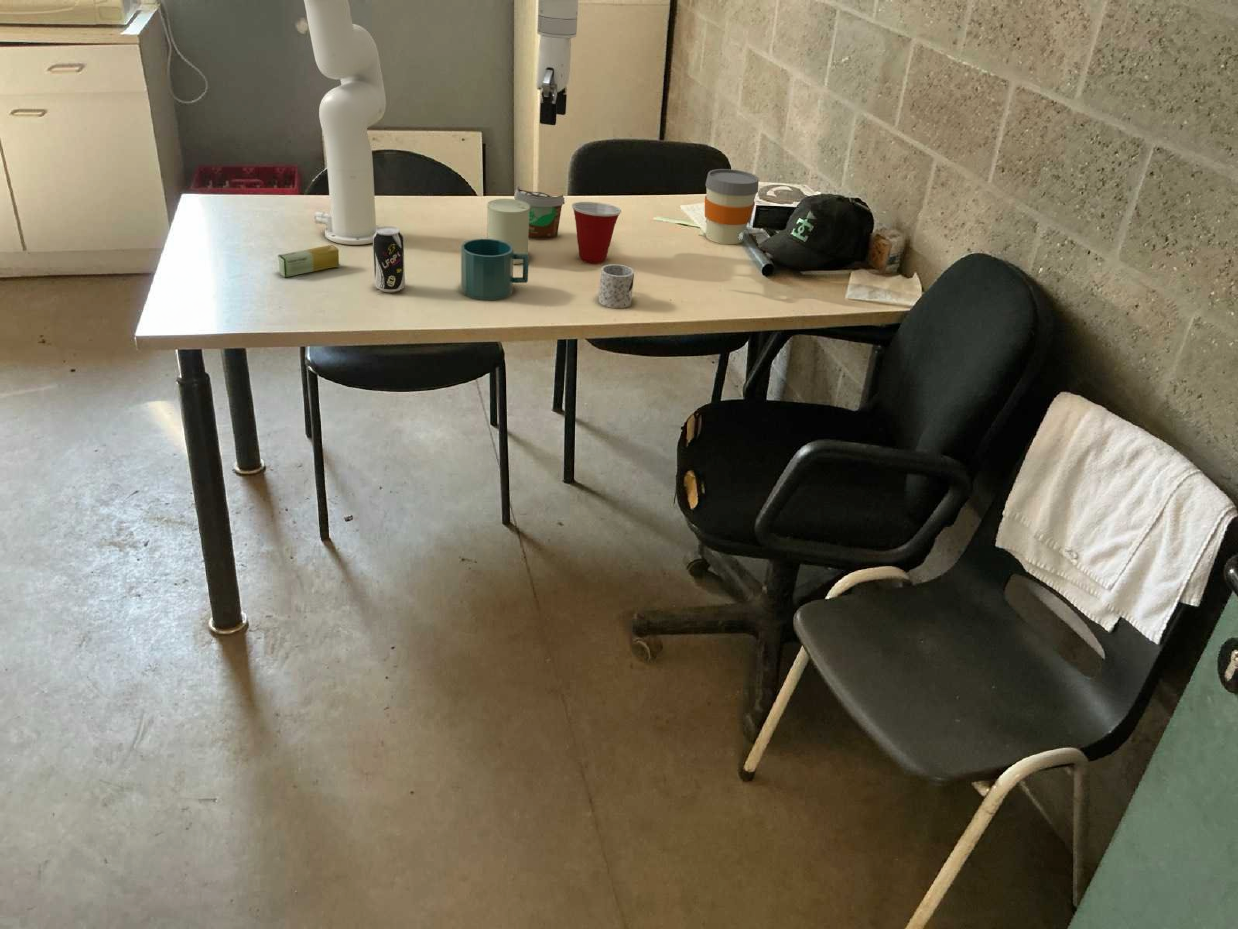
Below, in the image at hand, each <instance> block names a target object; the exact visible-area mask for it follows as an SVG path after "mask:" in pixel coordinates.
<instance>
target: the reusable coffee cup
mask: <svg viewBox="0 0 1238 929" xmlns="http://www.w3.org/2000/svg"><path fill="white" fill-rule="evenodd" d="M759 181H760V178H759V177H758V176H757V175H756V174H753V173H752V172H747V171H743V170H739V169H732V168H731V169H730V168H717V169H711V170H710V171H708V173H707V177H706V181H705V184H704V185H705V187H706V195H705V196H704V217H705V220H706V222H705V223H706V224H705V227H706V228H705V237H706V239H708V240H709V241H711V242H714V243H717V244H720V245H721V244H722V245H737V244H741V243H742V242H743V240H744V239H743V240H741V239H740V240H739V238H738V237H739V234H740V233H741V232H743V231H744V230H745V231H746V230H747V226H748V223H750V222H751V220H752V219H751V218H752V215H753V212H754V208H755V204H756V202H755V198H756V195H757V194H758V193H759Z"/></svg>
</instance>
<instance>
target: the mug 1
mask: <svg viewBox="0 0 1238 929" xmlns="http://www.w3.org/2000/svg"><path fill="white" fill-rule="evenodd" d="M513 259H523V263H522V276H519V277H518V276H517V277H516V276H514V264H513ZM529 260H530V256H529V253H528V254H514V249H513V246H512V245H510V244H509V243H507V242H504V241H501V240H495V239H487V238H473V239H469V240H466V241H464V242H463V243H461V245H460V291H461V293H463V295H465V296H467V297H469V298H470V299H471V298H472V299H476V300H481V301H497V300H502V299H506V298H508V297H509V296H511V295H512V293H513V288H514V284H527V283H528V282H529V267H530V266H529V264H530V261H529Z"/></svg>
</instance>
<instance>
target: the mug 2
mask: <svg viewBox="0 0 1238 929" xmlns="http://www.w3.org/2000/svg"><path fill="white" fill-rule="evenodd" d="M634 277H635V269H633V268H632V267H630V266H628V265H624V264H616V263H614V264H606V265H603V266H601V267H600V276H599V289H598V303H599V304H600V305H602V306H604V307H607V308H611V309H612V308H613V309H623V308H628V307H630V306H631V305H632V302H633V301H632V299H633V290H634V289H633V288H634Z"/></svg>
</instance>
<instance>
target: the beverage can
mask: <svg viewBox="0 0 1238 929" xmlns="http://www.w3.org/2000/svg"><path fill="white" fill-rule="evenodd" d="M372 250H373V268H374V269H373V270H374V285H375V288H377V289H378V290H380V291H381V292H384V293H397V292H399V291H401V290H402V289H404V288H405V286H406V279H405V278H406V275H405V273H406V272H405V245H404V236H403V235H402V234H401V230H400V228H398V227H396V226H391V225H390V226H389V225H386V226H385V225H384V226H379V228H377V229H376V233H375V235H374V236H373V243H372Z"/></svg>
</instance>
